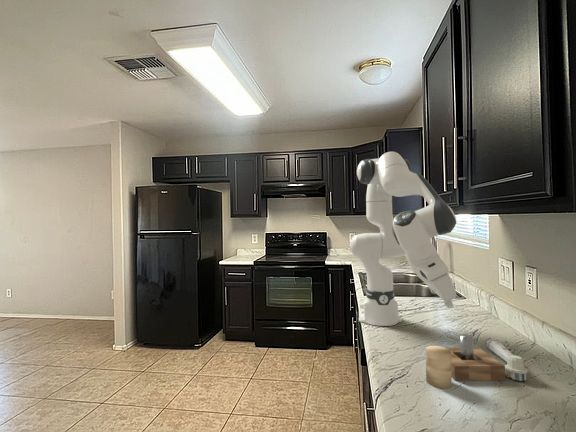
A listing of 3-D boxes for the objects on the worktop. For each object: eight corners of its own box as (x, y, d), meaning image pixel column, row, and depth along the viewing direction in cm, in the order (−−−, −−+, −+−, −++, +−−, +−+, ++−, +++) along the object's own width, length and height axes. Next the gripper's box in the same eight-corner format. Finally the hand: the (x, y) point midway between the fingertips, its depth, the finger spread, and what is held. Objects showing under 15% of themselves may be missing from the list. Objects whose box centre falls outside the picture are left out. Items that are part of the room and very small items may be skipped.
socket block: (434, 359, 110) (434, 347, 110) (477, 359, 110) (477, 346, 110) (454, 380, 96) (454, 366, 96) (505, 380, 96) (504, 365, 96)
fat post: (422, 377, 98) (422, 345, 98) (445, 376, 98) (444, 345, 98) (431, 388, 92) (431, 355, 92) (455, 388, 91) (455, 354, 91)
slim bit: (458, 366, 104) (457, 334, 104) (469, 366, 104) (469, 333, 104) (464, 371, 101) (463, 338, 101) (476, 371, 101) (475, 338, 101)
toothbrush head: (500, 338, 118) (529, 356, 94) (501, 358, 117) (531, 382, 93) (483, 336, 119) (508, 354, 95) (484, 356, 118) (509, 380, 95)
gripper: (402, 255, 113) (419, 289, 116) (429, 278, 93) (448, 319, 96) (420, 247, 113) (436, 281, 116) (450, 268, 93) (469, 309, 95)
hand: (442, 298), depth 106 cm, fingers open, 8 cm apart
